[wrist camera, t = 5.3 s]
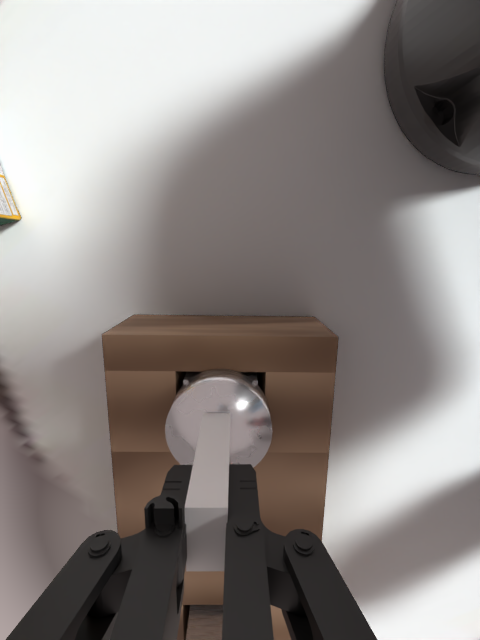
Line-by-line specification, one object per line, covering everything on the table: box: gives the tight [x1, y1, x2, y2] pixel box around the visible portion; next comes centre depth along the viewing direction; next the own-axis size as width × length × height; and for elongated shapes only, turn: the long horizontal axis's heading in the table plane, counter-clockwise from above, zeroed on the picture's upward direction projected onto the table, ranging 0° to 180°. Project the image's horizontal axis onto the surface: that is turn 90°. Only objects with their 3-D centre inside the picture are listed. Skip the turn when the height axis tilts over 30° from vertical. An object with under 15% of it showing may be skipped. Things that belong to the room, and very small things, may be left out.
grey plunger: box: [165, 369, 272, 468], centre depth 21 cm, size 6×6×8 cm
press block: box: [102, 315, 338, 640], centre depth 25 cm, size 28×14×6 cm, turn 179°
